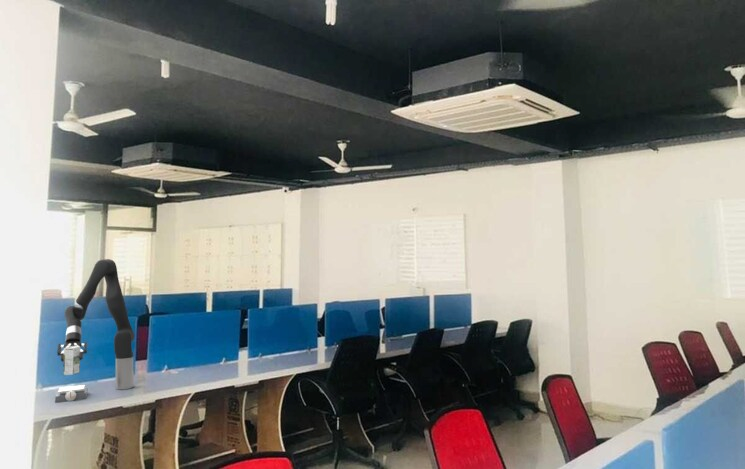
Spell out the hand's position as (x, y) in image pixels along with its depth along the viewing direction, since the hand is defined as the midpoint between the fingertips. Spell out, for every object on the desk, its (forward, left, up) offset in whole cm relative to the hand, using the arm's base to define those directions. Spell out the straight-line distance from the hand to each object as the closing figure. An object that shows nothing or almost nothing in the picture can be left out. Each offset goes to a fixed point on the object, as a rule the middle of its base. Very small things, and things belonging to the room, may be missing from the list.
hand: (71, 360), depth 287 cm
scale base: (-1, -1, -20) cm, 20 cm away
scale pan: (-1, -1, -16) cm, 16 cm away
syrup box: (-1, -1, -8) cm, 8 cm away
